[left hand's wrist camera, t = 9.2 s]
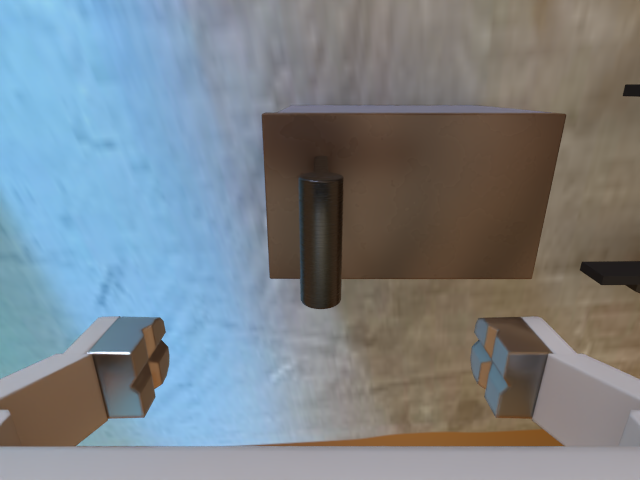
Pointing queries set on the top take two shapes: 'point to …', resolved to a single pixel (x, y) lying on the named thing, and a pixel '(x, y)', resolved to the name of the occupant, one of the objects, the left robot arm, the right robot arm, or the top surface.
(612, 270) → the right robot arm
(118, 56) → the top surface
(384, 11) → the top surface
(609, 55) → the top surface
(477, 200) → the block with bar handle
